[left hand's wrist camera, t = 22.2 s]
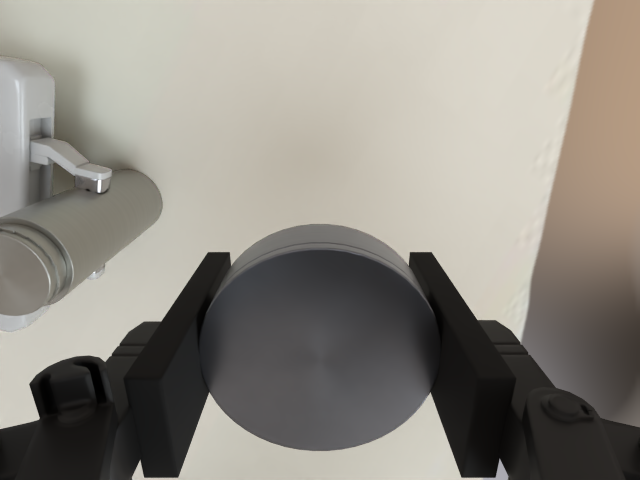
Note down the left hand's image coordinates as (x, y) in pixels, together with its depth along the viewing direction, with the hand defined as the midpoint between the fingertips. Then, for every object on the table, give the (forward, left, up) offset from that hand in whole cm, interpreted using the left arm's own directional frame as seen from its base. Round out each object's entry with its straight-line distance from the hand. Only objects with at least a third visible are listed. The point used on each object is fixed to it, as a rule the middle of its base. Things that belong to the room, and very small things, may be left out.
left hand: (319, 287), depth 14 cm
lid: (0, 0, +4) cm, 4 cm away
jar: (-13, +11, -22) cm, 28 cm away
